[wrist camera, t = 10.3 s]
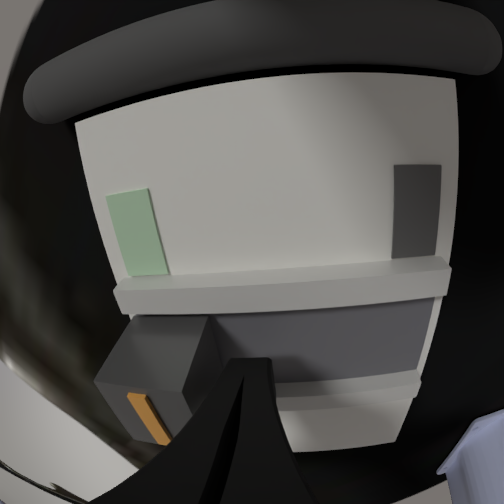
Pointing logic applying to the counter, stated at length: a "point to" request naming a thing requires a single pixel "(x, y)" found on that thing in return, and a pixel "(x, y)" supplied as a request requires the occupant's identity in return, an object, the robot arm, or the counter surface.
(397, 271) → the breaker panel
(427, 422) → the counter surface
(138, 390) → the toggle
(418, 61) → the dark grey rounded bar
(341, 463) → the counter surface
